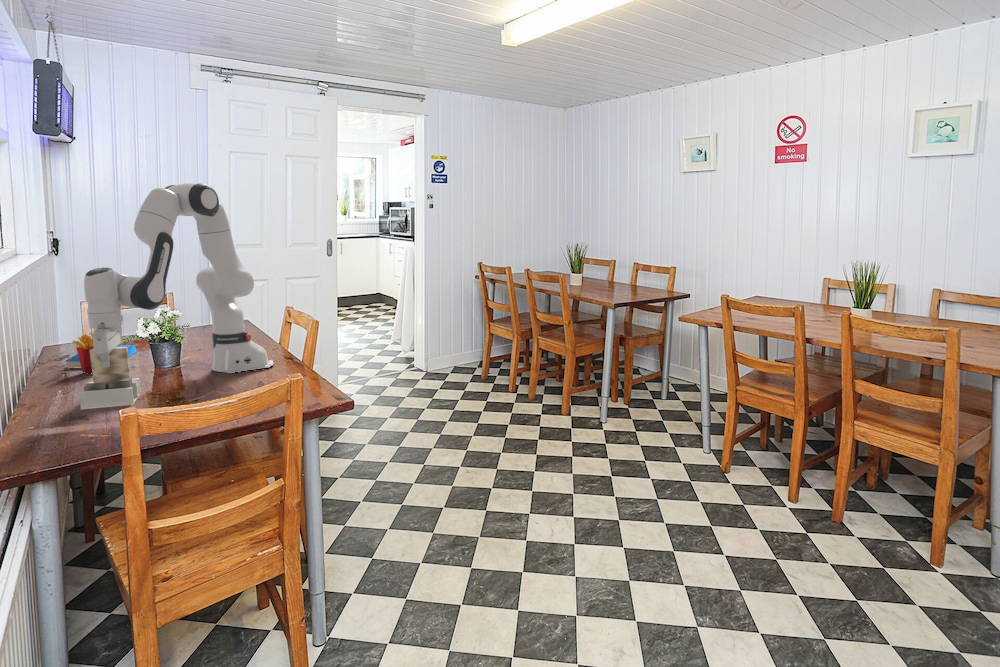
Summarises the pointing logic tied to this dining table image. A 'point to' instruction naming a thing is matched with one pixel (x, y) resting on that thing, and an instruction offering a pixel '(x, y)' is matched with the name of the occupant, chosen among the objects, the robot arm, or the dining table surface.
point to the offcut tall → (120, 383)
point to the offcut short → (96, 386)
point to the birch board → (117, 367)
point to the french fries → (85, 352)
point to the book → (75, 360)
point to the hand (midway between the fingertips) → (110, 363)
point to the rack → (110, 396)
